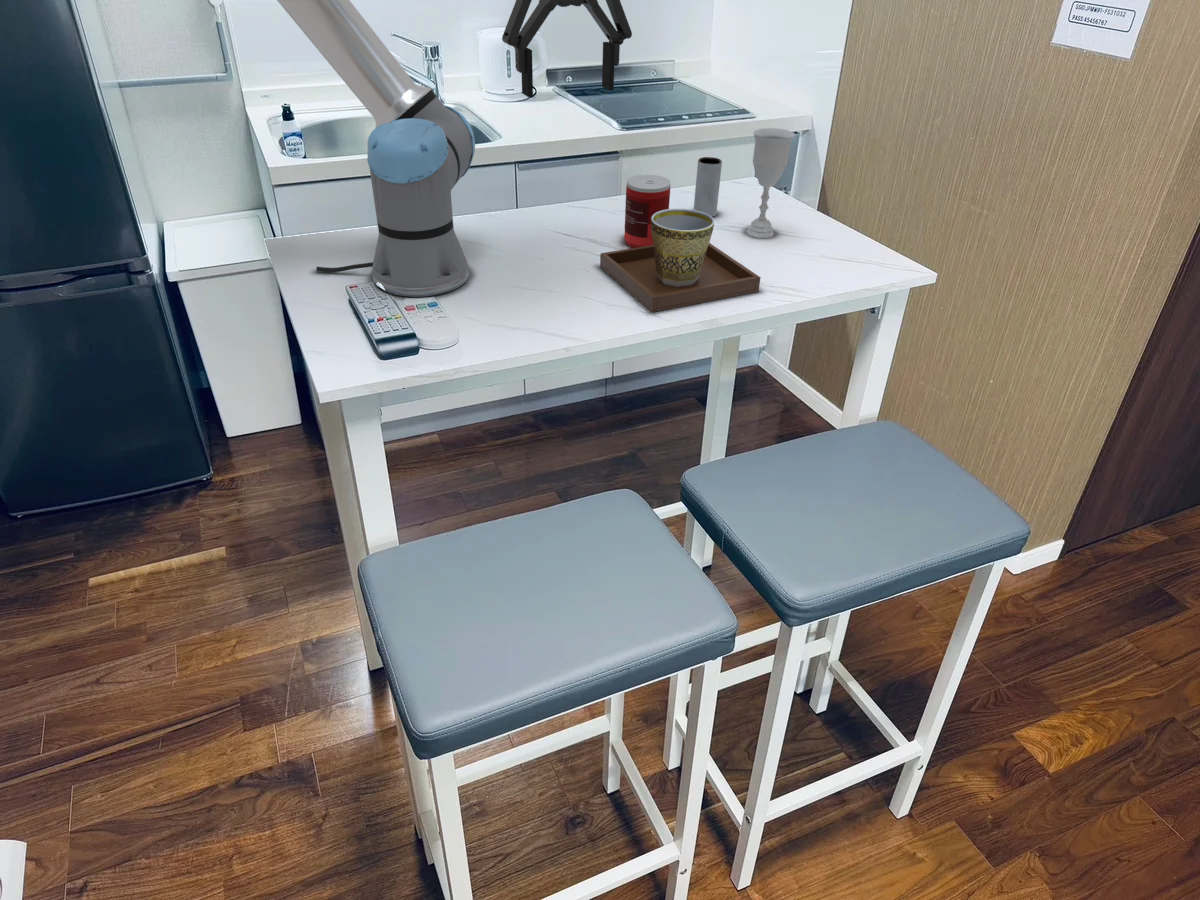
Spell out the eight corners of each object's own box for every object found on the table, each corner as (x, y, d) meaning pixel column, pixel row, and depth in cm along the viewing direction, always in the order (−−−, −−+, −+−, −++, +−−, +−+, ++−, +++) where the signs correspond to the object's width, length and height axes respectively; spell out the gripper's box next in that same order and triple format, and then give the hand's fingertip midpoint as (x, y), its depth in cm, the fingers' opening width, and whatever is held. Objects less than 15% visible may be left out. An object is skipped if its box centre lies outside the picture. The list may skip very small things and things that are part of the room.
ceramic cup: (694, 296, 132) (700, 235, 126) (637, 283, 136) (640, 223, 130) (723, 267, 141) (730, 209, 136) (669, 256, 145) (673, 199, 139)
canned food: (667, 235, 154) (671, 175, 148) (665, 252, 148) (670, 190, 141) (625, 232, 155) (628, 173, 148) (622, 249, 148) (624, 187, 142)
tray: (651, 312, 128) (652, 297, 127) (599, 267, 142) (600, 253, 140) (758, 291, 135) (760, 277, 134) (699, 250, 149) (700, 236, 147)
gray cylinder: (704, 208, 167) (709, 155, 161) (721, 214, 164) (727, 161, 158) (688, 212, 164) (693, 159, 158) (704, 219, 161) (710, 165, 155)
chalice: (749, 241, 153) (763, 139, 142) (734, 228, 158) (746, 129, 148) (786, 237, 155) (802, 137, 144) (770, 224, 160) (784, 127, 149)
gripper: (493, -66, 111) (500, 103, 123) (659, -67, 120) (650, 90, 132) (475, -70, 116) (484, 92, 128) (635, -72, 125) (628, 80, 137)
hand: (568, 92), depth 130 cm, fingers open, 13 cm apart
